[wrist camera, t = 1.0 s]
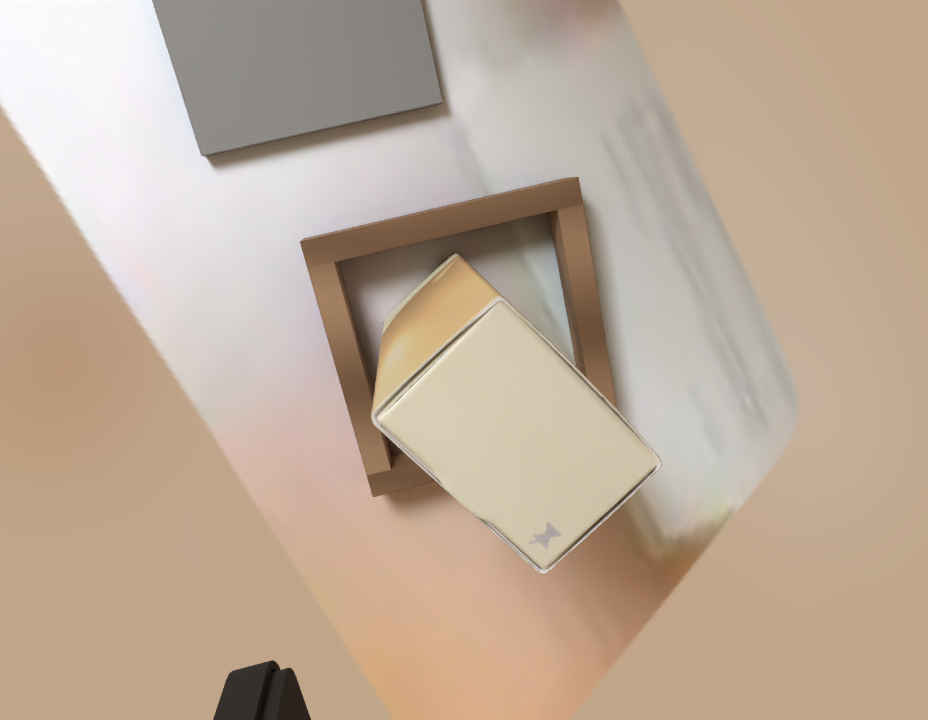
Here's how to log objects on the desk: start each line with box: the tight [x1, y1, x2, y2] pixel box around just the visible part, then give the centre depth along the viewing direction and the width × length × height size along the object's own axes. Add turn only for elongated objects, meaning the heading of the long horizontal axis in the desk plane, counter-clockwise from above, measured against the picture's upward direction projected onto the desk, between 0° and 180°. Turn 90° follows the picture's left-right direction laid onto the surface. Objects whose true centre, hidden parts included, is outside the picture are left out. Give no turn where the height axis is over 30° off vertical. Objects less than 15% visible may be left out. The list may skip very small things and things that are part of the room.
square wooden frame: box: [300, 177, 617, 497], centre depth 27 cm, size 11×11×2 cm
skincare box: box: [371, 253, 662, 574], centre depth 21 cm, size 6×4×12 cm
